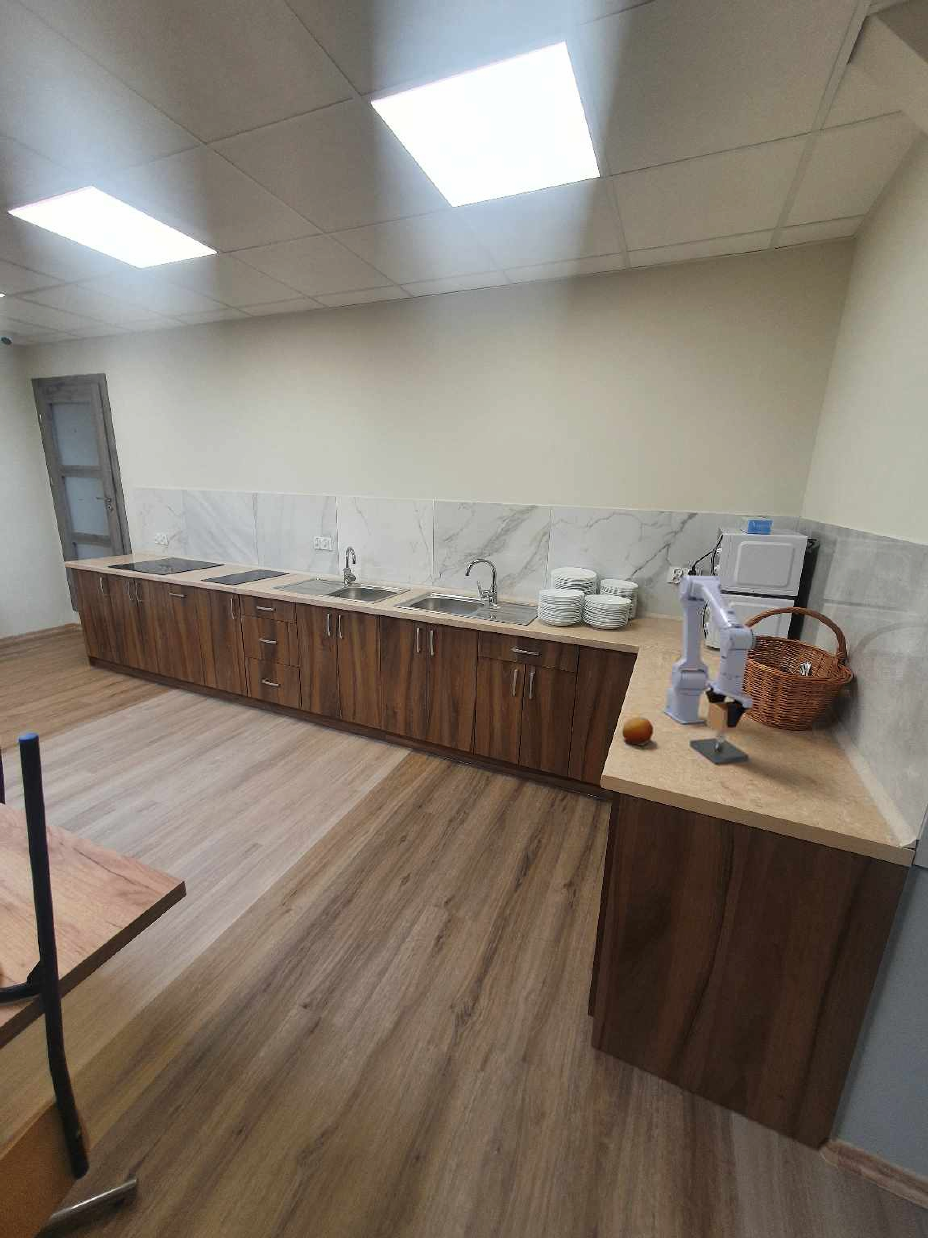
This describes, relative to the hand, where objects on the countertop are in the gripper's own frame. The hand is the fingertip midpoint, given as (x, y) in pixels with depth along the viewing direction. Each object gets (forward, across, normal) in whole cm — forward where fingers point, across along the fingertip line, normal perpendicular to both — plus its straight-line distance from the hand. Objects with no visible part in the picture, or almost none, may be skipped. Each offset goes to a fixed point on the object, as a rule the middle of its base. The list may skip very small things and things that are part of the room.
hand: (723, 722), depth 133 cm
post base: (+9, 0, 0) cm, 9 cm away
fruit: (+9, -10, -18) cm, 23 cm away
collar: (+2, 0, 0) cm, 2 cm away
